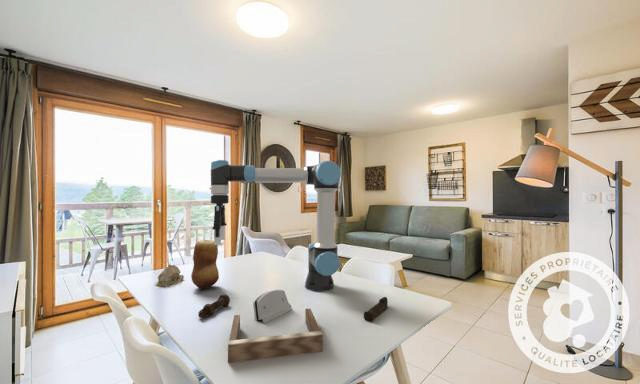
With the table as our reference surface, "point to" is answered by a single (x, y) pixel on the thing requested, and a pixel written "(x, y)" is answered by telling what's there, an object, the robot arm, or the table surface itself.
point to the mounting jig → (275, 342)
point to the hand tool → (376, 310)
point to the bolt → (214, 306)
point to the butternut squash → (205, 264)
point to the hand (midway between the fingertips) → (219, 242)
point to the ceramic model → (169, 276)
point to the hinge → (271, 305)
